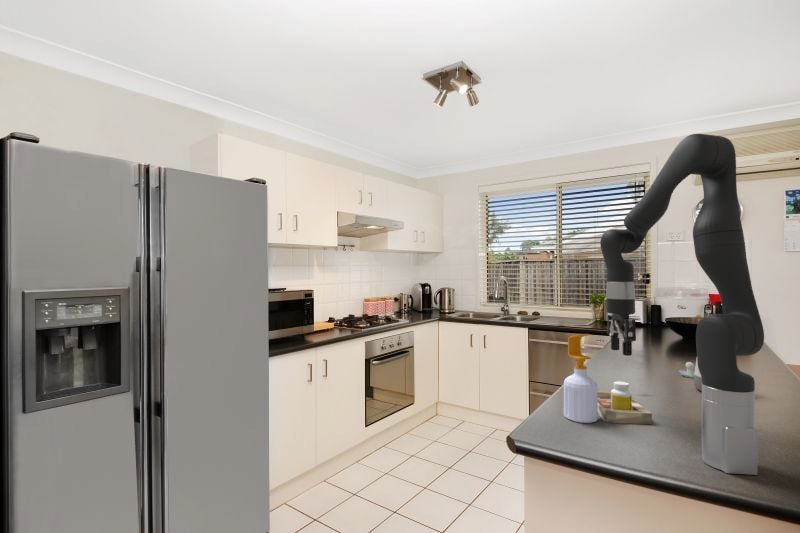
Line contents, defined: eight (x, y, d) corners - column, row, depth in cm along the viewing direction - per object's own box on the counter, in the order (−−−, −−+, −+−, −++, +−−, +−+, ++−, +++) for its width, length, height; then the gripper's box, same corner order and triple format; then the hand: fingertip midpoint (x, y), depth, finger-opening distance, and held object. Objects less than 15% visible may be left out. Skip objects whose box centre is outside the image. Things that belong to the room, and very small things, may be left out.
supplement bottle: (634, 420, 119) (634, 386, 119) (613, 419, 120) (613, 384, 120) (628, 414, 124) (628, 381, 124) (608, 412, 125) (608, 380, 125)
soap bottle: (577, 425, 115) (577, 336, 116) (557, 413, 124) (557, 331, 124) (604, 421, 118) (604, 334, 118) (582, 411, 127) (582, 330, 127)
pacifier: (681, 374, 172) (678, 376, 168) (681, 359, 172) (678, 361, 168) (703, 377, 167) (700, 380, 162) (703, 362, 167) (700, 364, 163)
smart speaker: (705, 387, 152) (705, 349, 152) (733, 394, 144) (733, 353, 144) (687, 390, 149) (687, 350, 149) (715, 397, 140) (715, 355, 140)
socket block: (651, 424, 116) (651, 409, 116) (606, 422, 117) (606, 408, 117) (620, 400, 137) (620, 388, 137) (582, 399, 138) (582, 387, 138)
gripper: (645, 298, 115) (645, 357, 115) (623, 296, 129) (624, 348, 129) (616, 298, 116) (617, 357, 116) (598, 295, 130) (598, 348, 130)
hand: (620, 352), depth 122 cm, fingers open, 8 cm apart
